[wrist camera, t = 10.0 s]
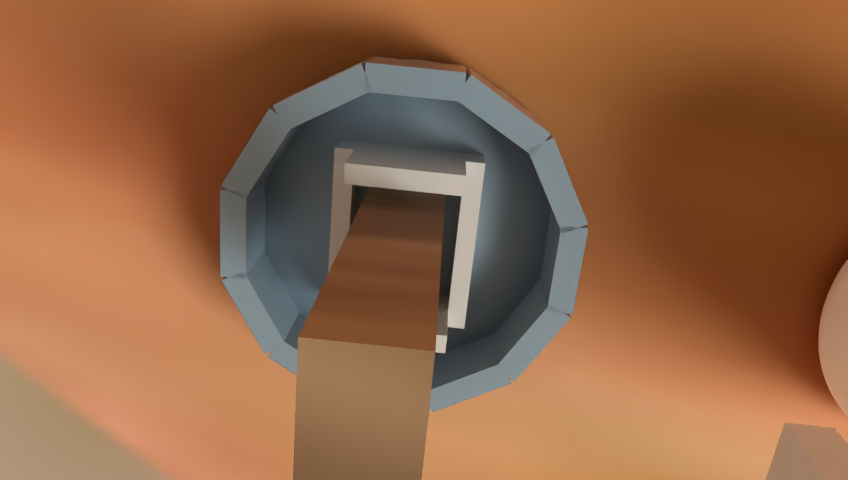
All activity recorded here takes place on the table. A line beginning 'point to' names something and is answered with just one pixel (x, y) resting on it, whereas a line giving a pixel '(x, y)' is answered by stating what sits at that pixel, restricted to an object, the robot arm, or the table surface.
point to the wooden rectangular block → (372, 345)
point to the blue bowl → (413, 171)
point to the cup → (836, 339)
